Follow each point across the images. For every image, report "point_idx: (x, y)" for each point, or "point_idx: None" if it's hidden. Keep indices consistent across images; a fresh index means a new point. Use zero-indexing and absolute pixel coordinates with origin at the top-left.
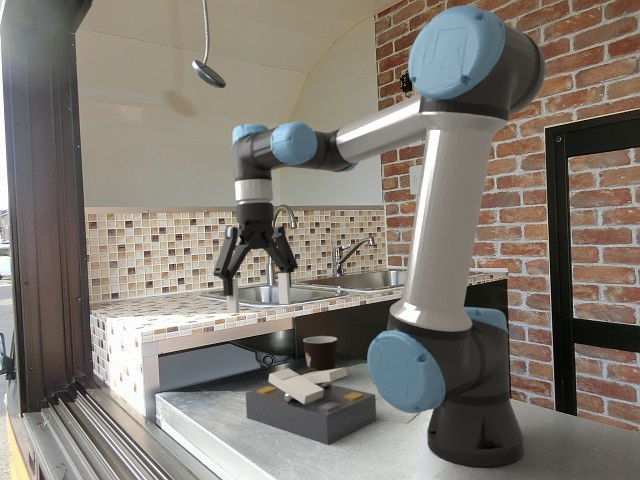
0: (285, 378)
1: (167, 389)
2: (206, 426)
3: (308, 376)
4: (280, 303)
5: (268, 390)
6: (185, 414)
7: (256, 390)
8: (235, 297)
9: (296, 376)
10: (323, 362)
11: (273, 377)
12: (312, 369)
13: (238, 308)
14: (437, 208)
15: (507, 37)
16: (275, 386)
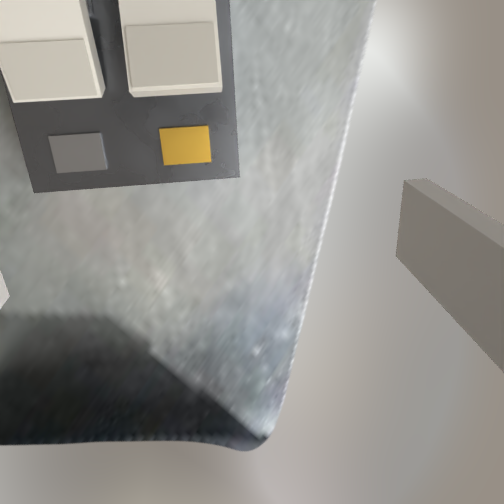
0: (192, 23)
1: (245, 443)
2: (326, 186)
3: (83, 16)
4: (4, 288)
5: (190, 131)
6: (310, 284)
7: (206, 170)
8: (481, 212)
9: (139, 20)
10: None
11: (219, 63)
12: None
13: (421, 188)
14: None
15: None
16: (143, 157)
